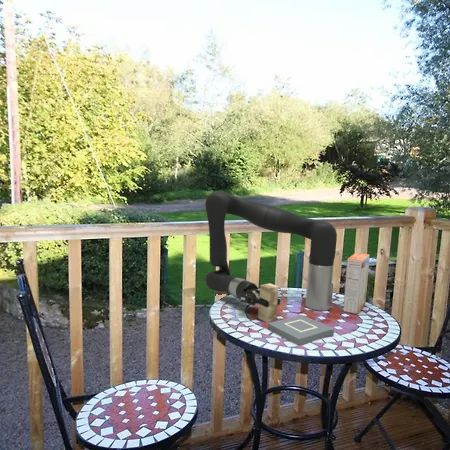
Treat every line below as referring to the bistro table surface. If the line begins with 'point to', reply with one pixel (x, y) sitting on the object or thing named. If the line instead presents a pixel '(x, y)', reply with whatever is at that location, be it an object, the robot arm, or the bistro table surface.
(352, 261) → the cracker box
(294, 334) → the grey rectangular slab
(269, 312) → the maple block
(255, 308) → the bistro table surface
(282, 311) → the bistro table surface
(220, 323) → the bistro table surface
